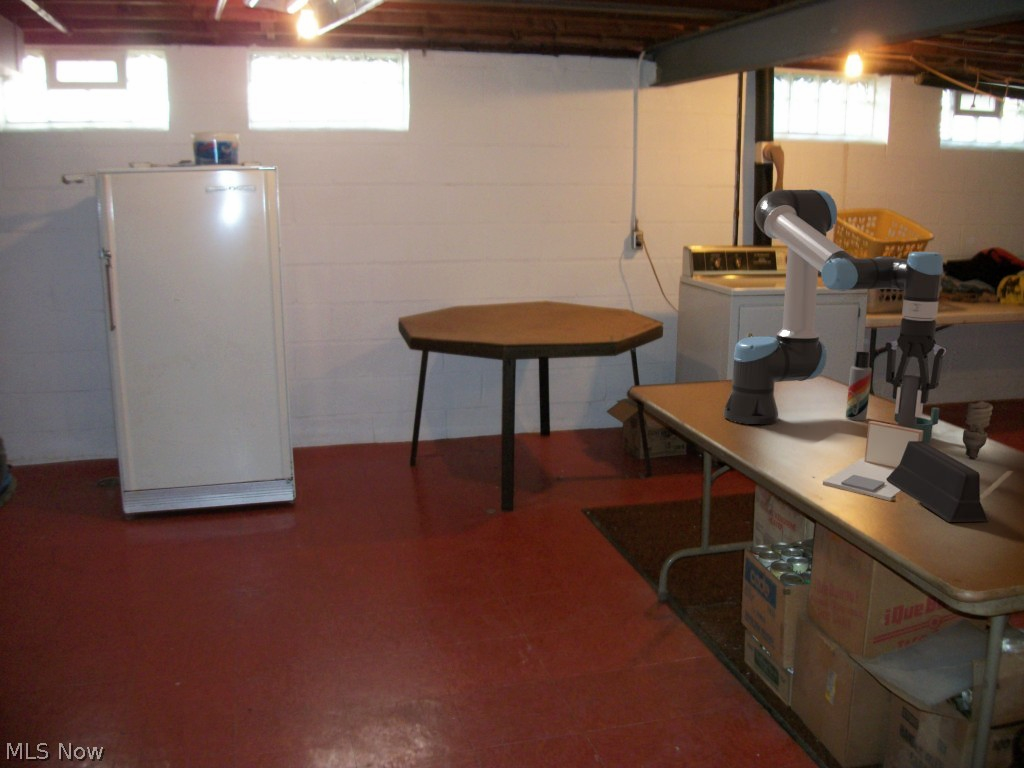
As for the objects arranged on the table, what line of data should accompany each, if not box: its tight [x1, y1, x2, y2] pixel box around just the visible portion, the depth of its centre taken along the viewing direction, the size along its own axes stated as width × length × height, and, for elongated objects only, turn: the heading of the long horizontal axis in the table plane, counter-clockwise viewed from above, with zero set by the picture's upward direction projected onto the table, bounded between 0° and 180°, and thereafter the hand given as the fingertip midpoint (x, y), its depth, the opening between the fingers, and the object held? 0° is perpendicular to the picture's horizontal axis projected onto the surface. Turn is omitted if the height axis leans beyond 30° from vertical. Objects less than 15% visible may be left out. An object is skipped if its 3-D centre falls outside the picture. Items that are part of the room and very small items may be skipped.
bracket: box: [893, 407, 940, 444], centre depth 231 cm, size 9×9×9 cm
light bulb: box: [962, 400, 994, 460], centre depth 213 cm, size 6×6×15 cm
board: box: [822, 456, 902, 502], centre depth 200 cm, size 15×26×1 cm, turn 138°
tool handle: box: [897, 374, 921, 427], centre depth 208 cm, size 4×4×12 cm
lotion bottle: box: [845, 350, 872, 422], centre depth 249 cm, size 6×6×20 cm
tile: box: [864, 420, 923, 469], centre depth 205 cm, size 12×2×10 cm, turn 48°
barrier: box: [886, 441, 989, 523], centre depth 184 cm, size 24×9×10 cm, turn 8°
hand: (908, 414), depth 209 cm, fingers closed on tool handle, 4 cm apart
